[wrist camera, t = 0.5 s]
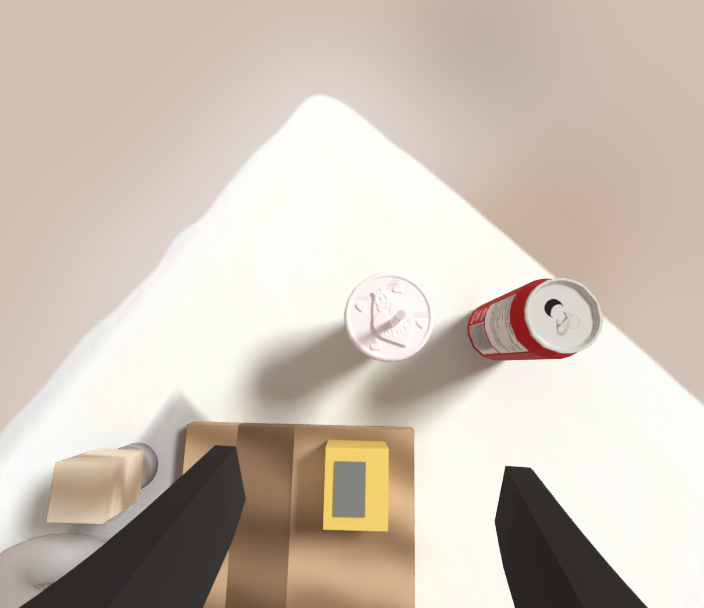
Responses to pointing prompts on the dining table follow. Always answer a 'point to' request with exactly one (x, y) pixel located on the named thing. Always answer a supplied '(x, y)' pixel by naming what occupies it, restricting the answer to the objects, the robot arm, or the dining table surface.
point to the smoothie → (389, 317)
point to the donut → (40, 564)
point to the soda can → (537, 322)
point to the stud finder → (356, 485)
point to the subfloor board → (309, 521)
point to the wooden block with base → (100, 483)
